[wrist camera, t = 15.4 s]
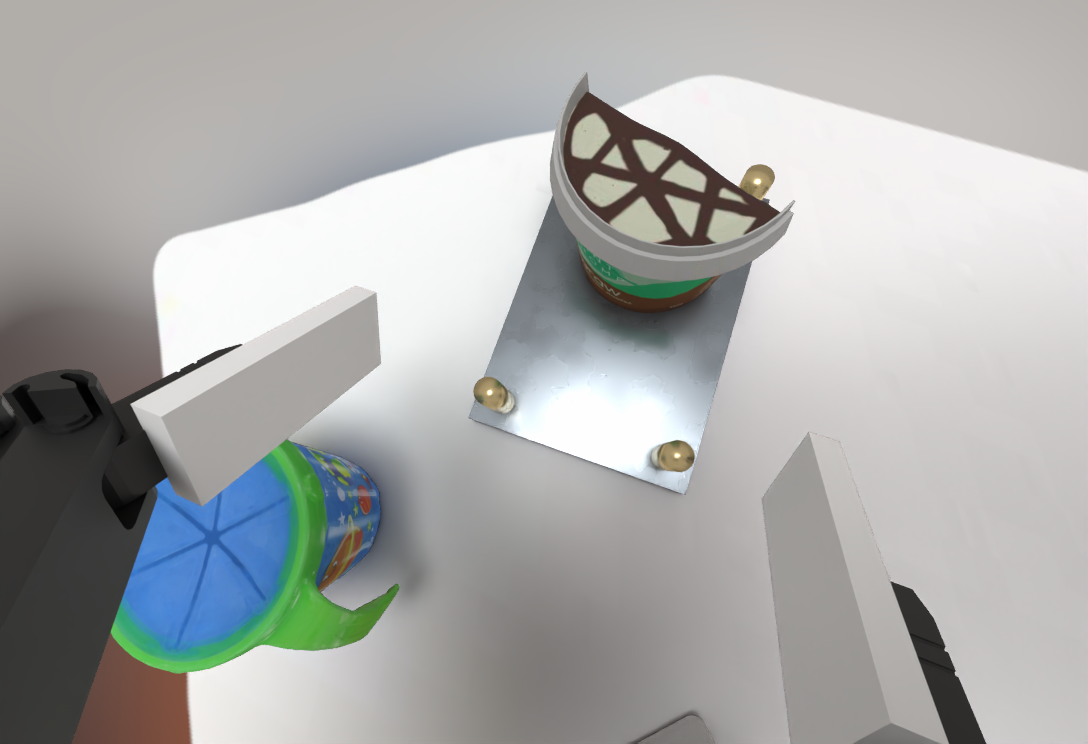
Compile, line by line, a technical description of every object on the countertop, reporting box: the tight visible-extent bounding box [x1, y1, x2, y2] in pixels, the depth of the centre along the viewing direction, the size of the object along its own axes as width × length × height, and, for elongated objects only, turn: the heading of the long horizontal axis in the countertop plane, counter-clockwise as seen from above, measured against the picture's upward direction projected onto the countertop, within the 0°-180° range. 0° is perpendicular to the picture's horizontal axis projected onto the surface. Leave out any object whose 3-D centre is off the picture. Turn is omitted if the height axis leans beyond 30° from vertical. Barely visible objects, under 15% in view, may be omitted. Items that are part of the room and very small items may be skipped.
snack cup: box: [110, 439, 399, 673], centre depth 24 cm, size 16×10×10 cm
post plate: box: [469, 164, 775, 495], centre depth 27 cm, size 14×20×6 cm
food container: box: [550, 72, 795, 313], centre depth 24 cm, size 12×6×10 cm, turn 49°
